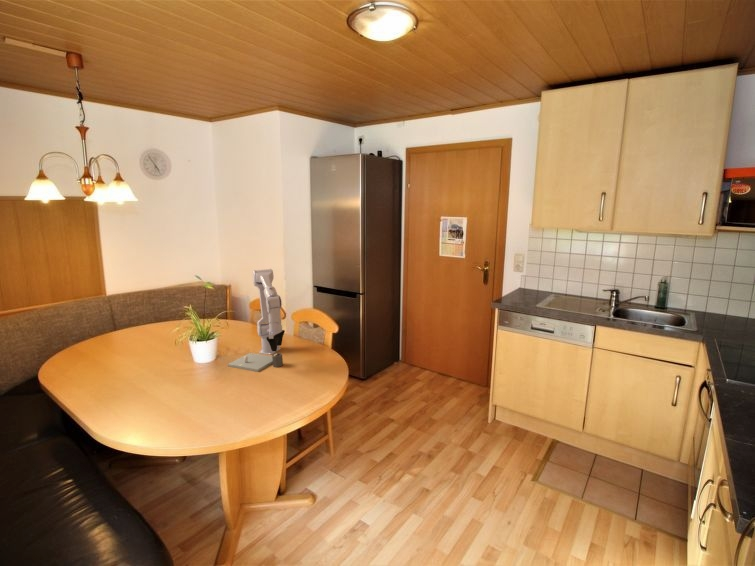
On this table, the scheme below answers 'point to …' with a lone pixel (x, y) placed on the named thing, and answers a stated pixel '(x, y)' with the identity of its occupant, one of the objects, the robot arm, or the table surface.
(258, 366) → the grey square plate
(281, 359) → the knob
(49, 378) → the table surface
